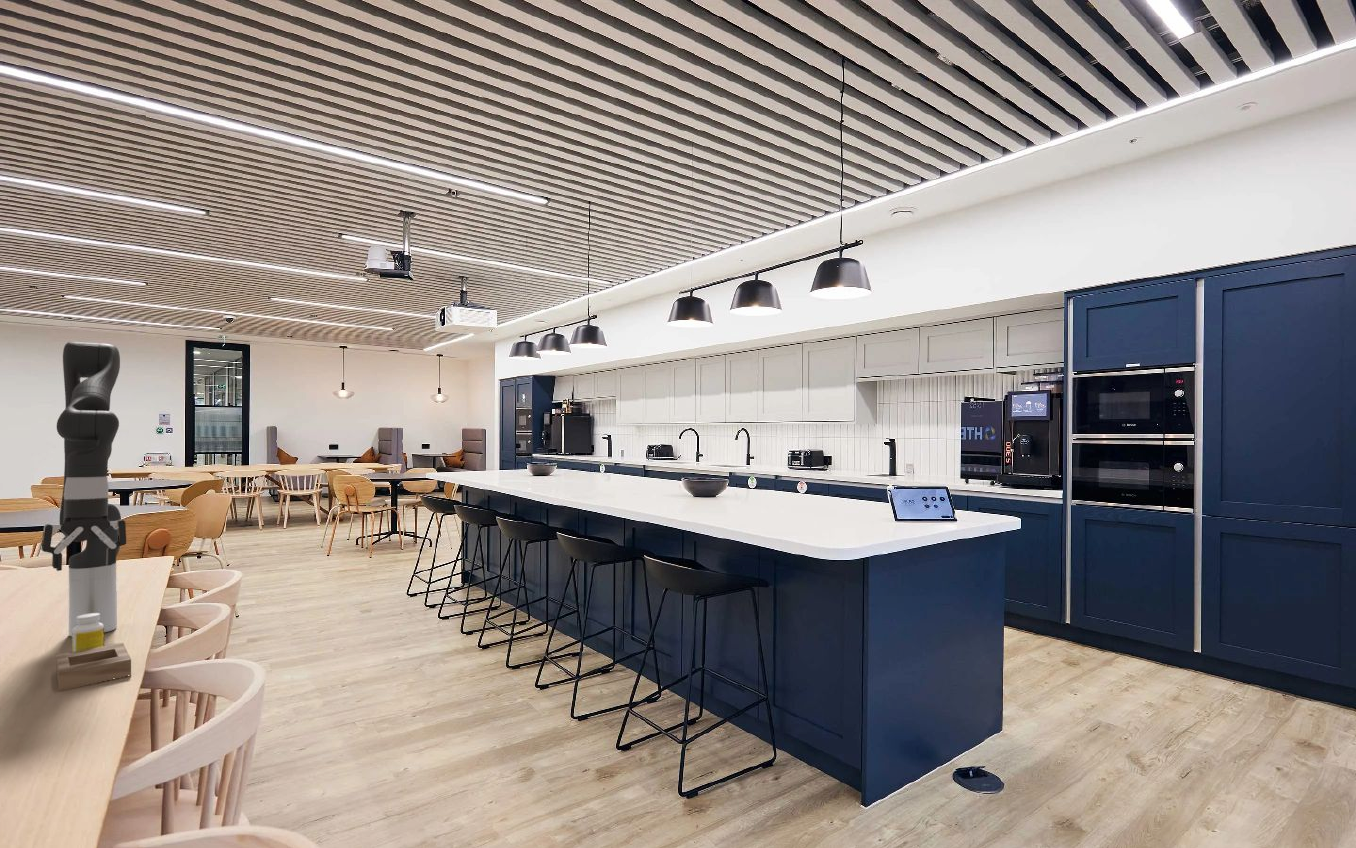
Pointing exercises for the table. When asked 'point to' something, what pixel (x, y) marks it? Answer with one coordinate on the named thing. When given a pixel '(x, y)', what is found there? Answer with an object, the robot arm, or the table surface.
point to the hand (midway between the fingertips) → (84, 567)
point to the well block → (92, 666)
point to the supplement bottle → (87, 632)
